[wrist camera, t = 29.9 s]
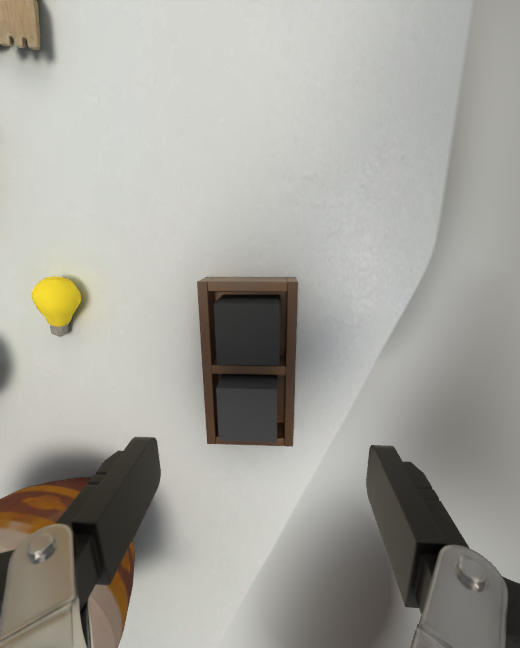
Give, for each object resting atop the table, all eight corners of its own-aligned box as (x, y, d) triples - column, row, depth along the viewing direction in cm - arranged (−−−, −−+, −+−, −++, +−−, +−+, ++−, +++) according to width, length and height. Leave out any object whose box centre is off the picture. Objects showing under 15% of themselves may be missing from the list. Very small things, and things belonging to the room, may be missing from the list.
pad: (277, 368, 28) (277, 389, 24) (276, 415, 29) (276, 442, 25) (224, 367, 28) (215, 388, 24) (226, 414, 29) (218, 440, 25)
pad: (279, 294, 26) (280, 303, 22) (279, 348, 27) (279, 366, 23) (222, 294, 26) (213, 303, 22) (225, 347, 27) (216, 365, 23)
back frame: (295, 277, 26) (297, 281, 23) (291, 426, 30) (293, 446, 27) (205, 277, 26) (197, 281, 23) (213, 424, 30) (207, 444, 27)
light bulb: (85, 273, 27) (71, 294, 24) (86, 326, 30) (73, 349, 27) (41, 265, 26) (21, 285, 23) (47, 320, 29) (30, 344, 26)
